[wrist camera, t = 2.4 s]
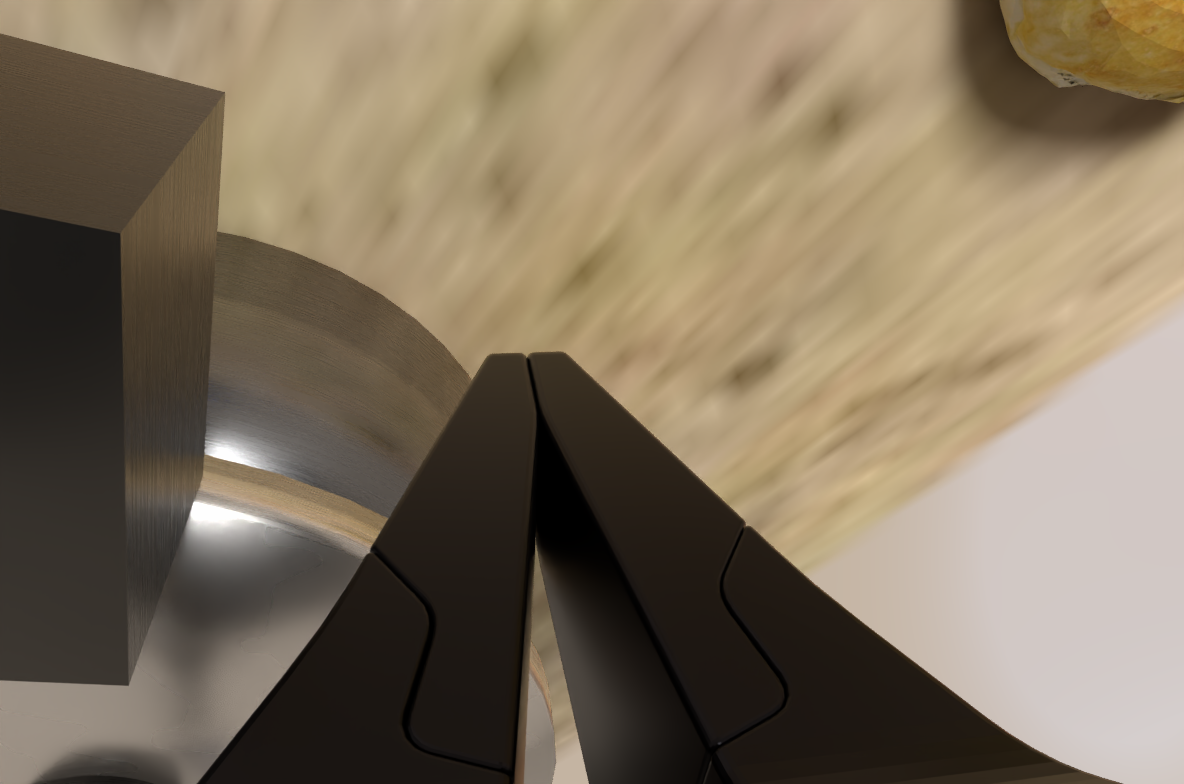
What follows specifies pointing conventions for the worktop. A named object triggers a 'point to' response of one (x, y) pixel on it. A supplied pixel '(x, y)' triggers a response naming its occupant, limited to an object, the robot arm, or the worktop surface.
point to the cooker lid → (138, 449)
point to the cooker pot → (321, 376)
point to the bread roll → (1103, 43)
